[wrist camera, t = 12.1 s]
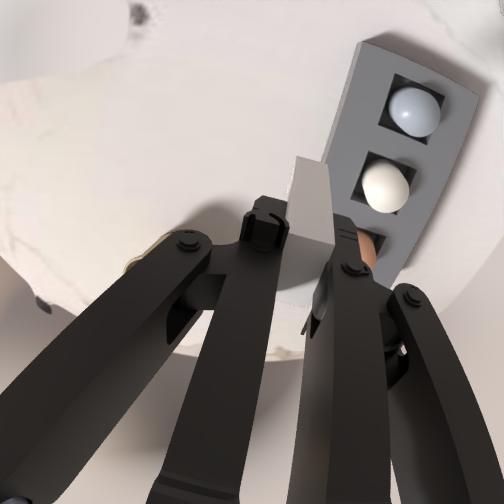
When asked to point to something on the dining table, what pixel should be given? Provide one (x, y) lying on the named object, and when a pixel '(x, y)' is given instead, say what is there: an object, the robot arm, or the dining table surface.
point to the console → (393, 150)
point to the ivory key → (384, 186)
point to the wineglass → (502, 6)
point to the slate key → (413, 110)
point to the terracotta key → (366, 247)
